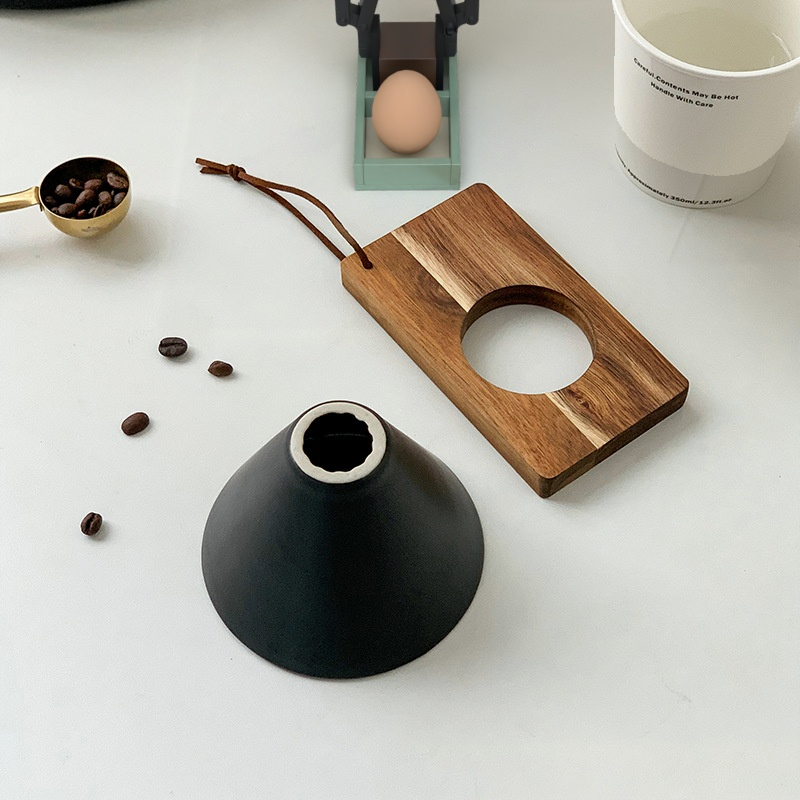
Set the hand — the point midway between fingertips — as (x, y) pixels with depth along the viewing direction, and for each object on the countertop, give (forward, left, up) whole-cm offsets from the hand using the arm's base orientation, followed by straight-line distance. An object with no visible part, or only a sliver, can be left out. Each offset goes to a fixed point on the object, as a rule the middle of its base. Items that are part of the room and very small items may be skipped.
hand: (408, 80), depth 110 cm
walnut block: (0, 0, 0) cm, 0 cm away
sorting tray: (0, +4, -1) cm, 4 cm away
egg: (0, +8, 0) cm, 8 cm away
